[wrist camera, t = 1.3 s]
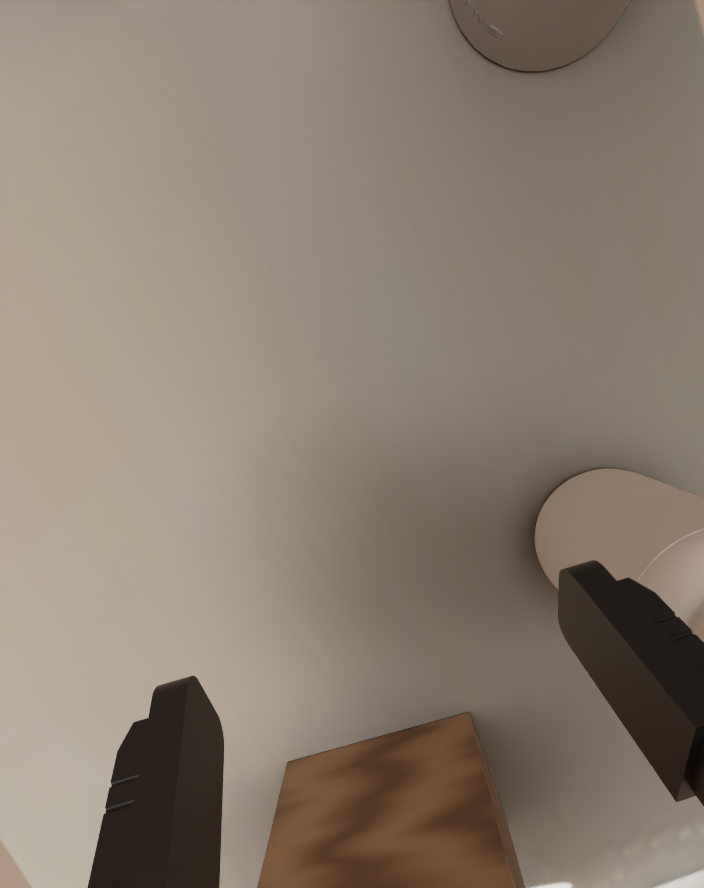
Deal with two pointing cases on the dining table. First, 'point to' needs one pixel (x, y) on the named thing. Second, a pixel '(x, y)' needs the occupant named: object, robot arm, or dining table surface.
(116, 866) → the robot arm
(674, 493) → the pill bottle
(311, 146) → the dining table surface
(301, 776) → the tower
